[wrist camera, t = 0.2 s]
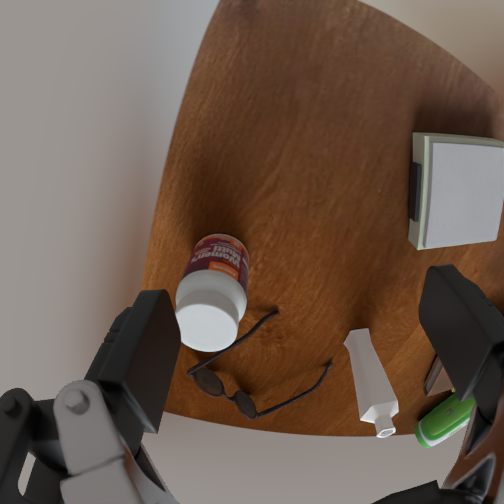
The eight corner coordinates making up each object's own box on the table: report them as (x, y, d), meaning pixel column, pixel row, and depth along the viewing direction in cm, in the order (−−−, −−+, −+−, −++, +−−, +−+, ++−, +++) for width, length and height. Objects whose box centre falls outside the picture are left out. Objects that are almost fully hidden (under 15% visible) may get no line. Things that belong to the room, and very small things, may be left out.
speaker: (475, 370, 43) (490, 397, 36) (485, 378, 45) (499, 403, 38) (409, 420, 50) (418, 448, 43) (424, 425, 52) (433, 451, 45)
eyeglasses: (189, 357, 40) (183, 385, 36) (272, 304, 35) (273, 333, 31) (258, 403, 45) (258, 428, 41) (337, 363, 40) (343, 390, 36)
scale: (408, 132, 26) (424, 136, 23) (493, 138, 25) (511, 144, 22) (404, 239, 31) (416, 254, 28) (483, 231, 30) (498, 243, 27)
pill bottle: (246, 229, 31) (240, 295, 21) (252, 280, 34) (248, 355, 24) (187, 234, 32) (156, 298, 21) (197, 283, 34) (176, 356, 24)
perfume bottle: (380, 332, 37) (415, 423, 24) (359, 352, 39) (386, 443, 26) (357, 320, 36) (390, 418, 23) (336, 342, 38) (358, 439, 25)
